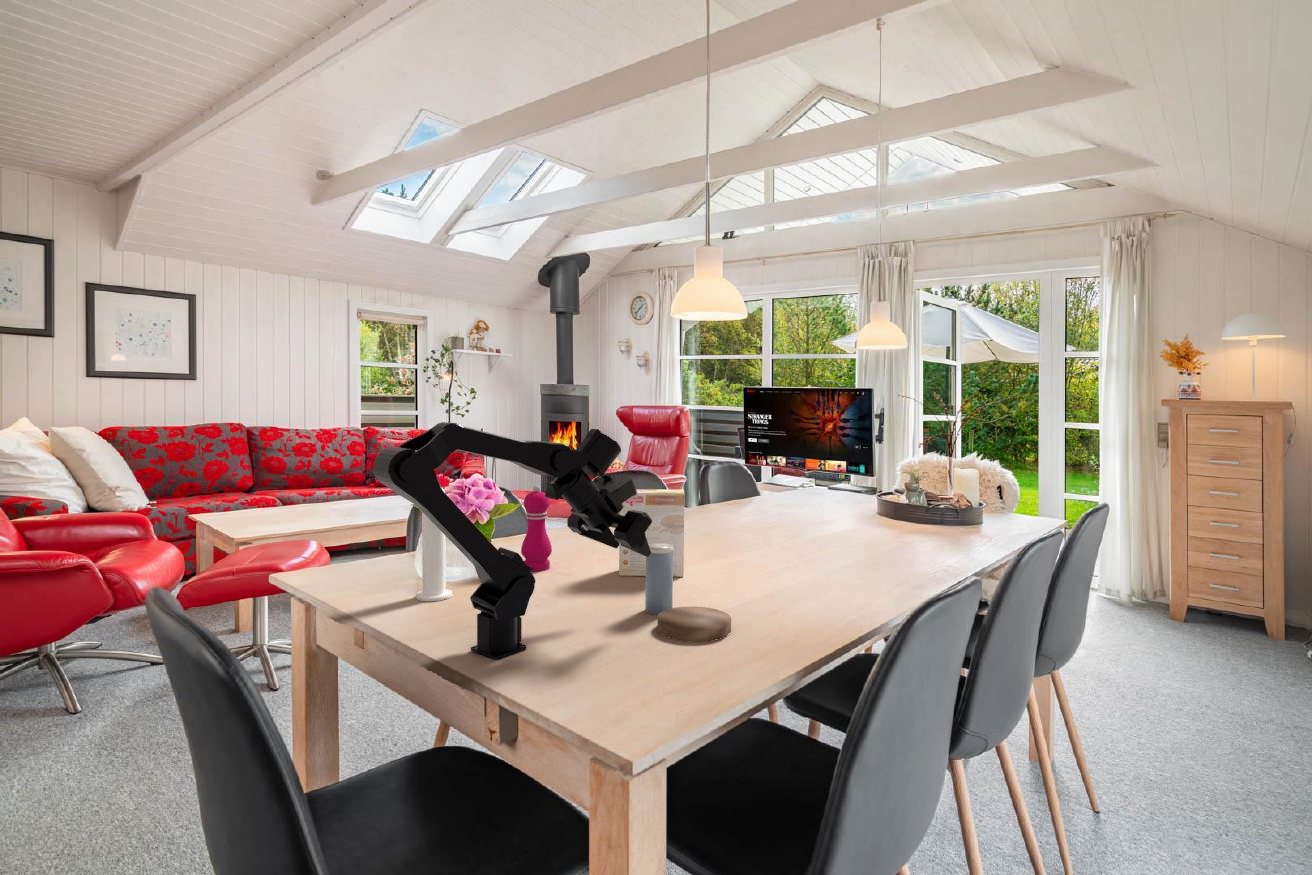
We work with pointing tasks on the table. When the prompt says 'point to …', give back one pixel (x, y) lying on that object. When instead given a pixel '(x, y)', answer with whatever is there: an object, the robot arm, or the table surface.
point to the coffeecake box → (656, 528)
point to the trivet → (694, 623)
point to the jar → (659, 579)
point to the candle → (433, 563)
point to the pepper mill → (536, 531)
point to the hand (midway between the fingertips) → (633, 550)
